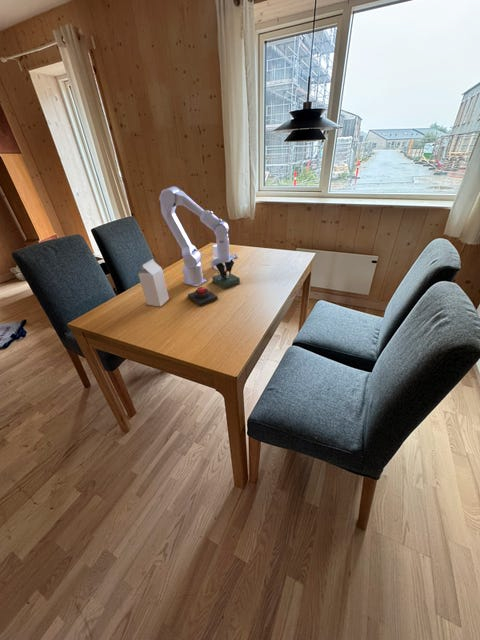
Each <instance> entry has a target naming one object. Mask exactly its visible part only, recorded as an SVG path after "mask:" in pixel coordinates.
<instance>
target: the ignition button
mask: <svg viewBox="0 0 480 640" xmlns="http://www.w3.org/2000/svg"><path fill="white" fill-rule="evenodd" d="M205 289H206V287H204V286H199V287H197V289H196V290H197V291H198V294H204V293H206V290H205Z"/></svg>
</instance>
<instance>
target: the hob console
mask: <svg viewBox="0 0 480 640" xmlns="http://www.w3.org/2000/svg"><path fill="white" fill-rule="evenodd" d="M211 280H212V282H213V283H214V284H215V285H218V286H219V287H221V288H222V289H224V290H226V289H229V288H232V287H234V286H237V285H240V284H241V279H240V277H238V276H236V275H234V274H232V273H231V274H230V278H228V279H226V278H222V277H221V275H220V273H219V274H215V275H212V279H211Z"/></svg>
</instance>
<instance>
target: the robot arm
mask: <svg viewBox="0 0 480 640" xmlns="http://www.w3.org/2000/svg"><path fill="white" fill-rule="evenodd" d="M158 200H159V202H160V213H161V215H162V217H163V219H164V221H165V222H166V224H167V226H168V229H169V230H170V231H171V234H172V235H173V237H174V239H175V240H176V242H177V244H178V246H179V247H180V249H181V256H182V259H183V263H184V265H183V267H182V276H183V282H182V283H183V284H186V285H190V286H194V287H200V286H201V285H203V284H205V283H206V282H207V281H208V279H206V278H204V275H203V268H202V263H201V260H202V253H201V252H200V251H199V250H198V249H197V247H196V245H194V244H193V243H192V242H191V240H190V238H189V236H188V235H187V233H186V231H185V229H184V227H183V225H182V223H181V222H180V220H179V218H178V216H177V214H176V209H177V206H183V207H185V208H187V209H188V210H189V211H191V212H192V213H193V214H195V215H196V216H198V217H199V220H200V222H201V223H202V224H203V225H205V226H206V227H207V228H209V229H210V230H211V231H213V233H214V235H215V240H216V241H215V242H216V245H217V252H218V258H217V259H215V260H213V259H212V260H211V261H210V262H209V264H210V267H212V268H214V266H215V265H216V267H217V268H218V270H217V271H218V272H219V274H220V275H221V277H222V278H224V277H225V274H224V269H225V266H226V270H228V271H229V276H230V274H232V269H233V266H234V264H235V261H234V260H238V259H239V258H238V257H239V256H238V254H236V253H234V254H231V249H230V239H229V229H230V225H229V224H228V222H227V221H226V220H223V219H222V218H219V217H218V216H216V214H214V211H212V210H209V209H206V210H205V209H204V208H202V207H201V206H200V205H198V203H196V202H195V201H194V200H193V199H192V198H191V197H190V196H188V194H186V193H185V191H183V190H182V189H180V188H179V187H177V186H174V185H171V186H170V187H168V188H164V189H163V190H161V192H160V194H159V197H158ZM224 262H225V266H224V265H223V264H222V263H224Z"/></svg>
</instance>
